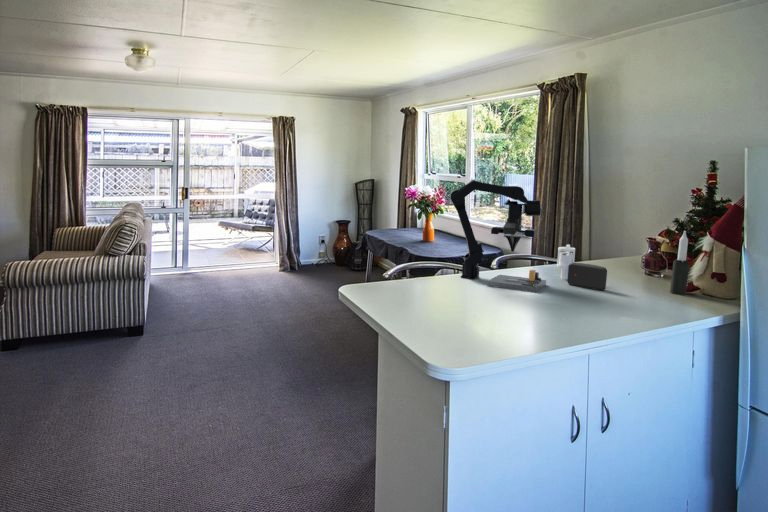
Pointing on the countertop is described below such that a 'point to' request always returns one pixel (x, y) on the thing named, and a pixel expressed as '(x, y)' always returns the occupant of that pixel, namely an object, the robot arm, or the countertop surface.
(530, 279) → the block
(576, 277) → the dark rounded block
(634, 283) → the countertop surface
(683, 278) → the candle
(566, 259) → the white stepped cylinder
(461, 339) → the countertop surface
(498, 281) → the breaker panel
